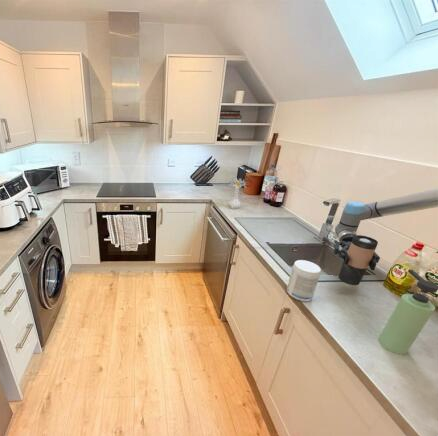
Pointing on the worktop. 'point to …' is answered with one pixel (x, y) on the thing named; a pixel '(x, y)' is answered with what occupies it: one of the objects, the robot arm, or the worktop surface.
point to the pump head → (424, 283)
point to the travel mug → (358, 259)
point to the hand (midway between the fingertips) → (360, 264)
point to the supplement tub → (303, 280)
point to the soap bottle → (406, 323)
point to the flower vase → (236, 192)
